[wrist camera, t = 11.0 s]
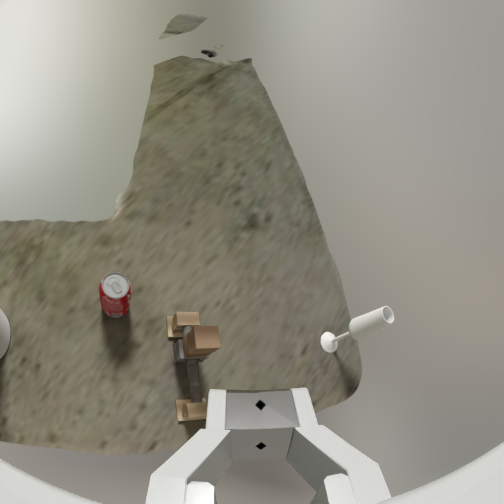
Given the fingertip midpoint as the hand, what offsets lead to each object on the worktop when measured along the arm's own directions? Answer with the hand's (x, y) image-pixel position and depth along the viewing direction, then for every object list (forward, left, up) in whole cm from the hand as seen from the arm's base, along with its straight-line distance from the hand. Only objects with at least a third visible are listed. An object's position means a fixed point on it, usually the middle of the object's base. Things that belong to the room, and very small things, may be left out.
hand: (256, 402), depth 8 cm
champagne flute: (+56, +12, -58) cm, 81 cm away
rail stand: (+12, +9, -57) cm, 59 cm away
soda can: (-4, +24, -58) cm, 63 cm away
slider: (+12, +12, -54) cm, 57 cm away
